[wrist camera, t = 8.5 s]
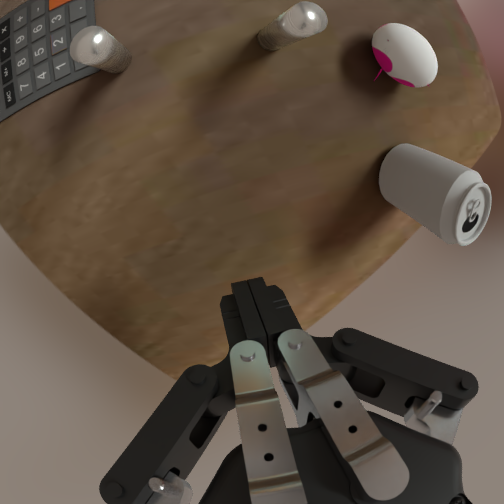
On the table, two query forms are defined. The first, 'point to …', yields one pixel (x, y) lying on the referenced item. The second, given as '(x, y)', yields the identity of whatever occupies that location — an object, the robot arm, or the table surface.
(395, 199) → the can
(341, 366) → the robot arm
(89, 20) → the calculator
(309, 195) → the table surface
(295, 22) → the post
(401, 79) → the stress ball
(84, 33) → the post
